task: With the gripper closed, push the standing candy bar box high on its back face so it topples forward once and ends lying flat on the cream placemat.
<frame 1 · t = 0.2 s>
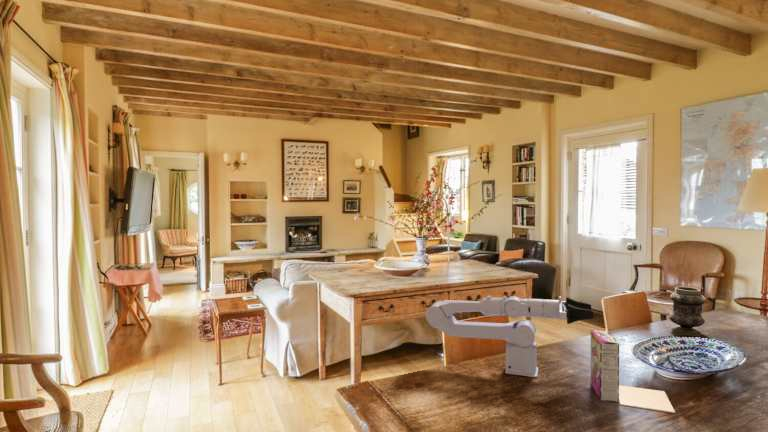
hand: (592, 311, 133), 21 cm above the table, tool horizontal, fingers open, 7 cm apart
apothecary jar: (686, 332, 180), on the table
placemat: (643, 398, 122), on the table
candy bar box: (603, 393, 126), on the table
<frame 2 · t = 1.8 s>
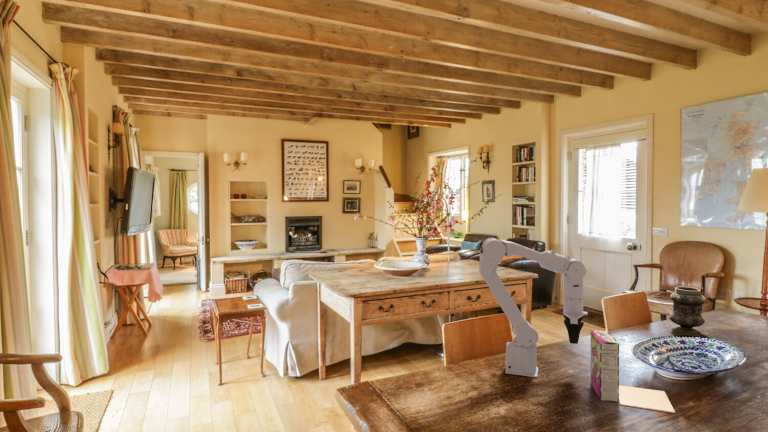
hand: (573, 340, 139), 10 cm above the table, tool pointing down, fingers open, 5 cm apart
nothing on the table moved.
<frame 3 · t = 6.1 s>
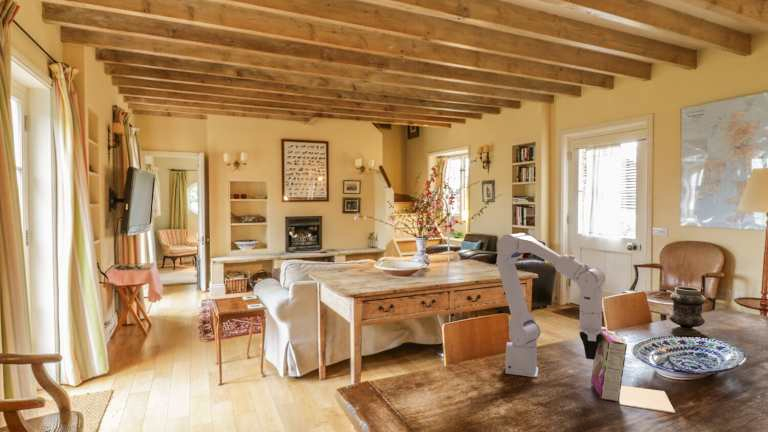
hand: (590, 358, 126), 9 cm above the table, tool pointing down, fingers closed
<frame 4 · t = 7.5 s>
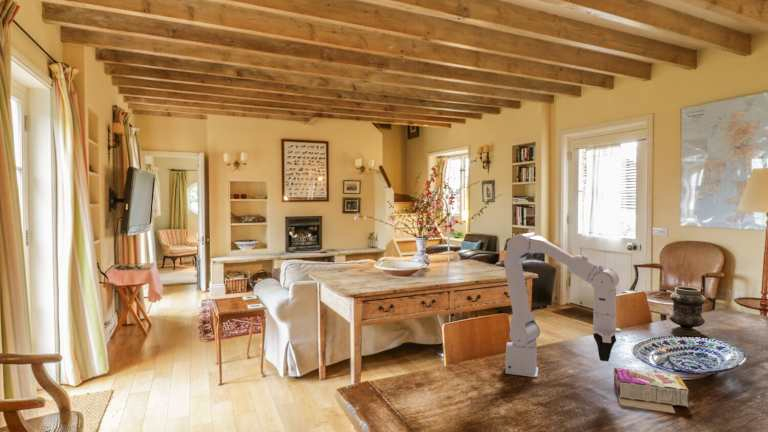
hand: (604, 360, 125), 9 cm above the table, tool pointing down, fingers closed
candy bar box: (615, 381, 126), point 3 cm above the table, touching placemat
everything else where it was.
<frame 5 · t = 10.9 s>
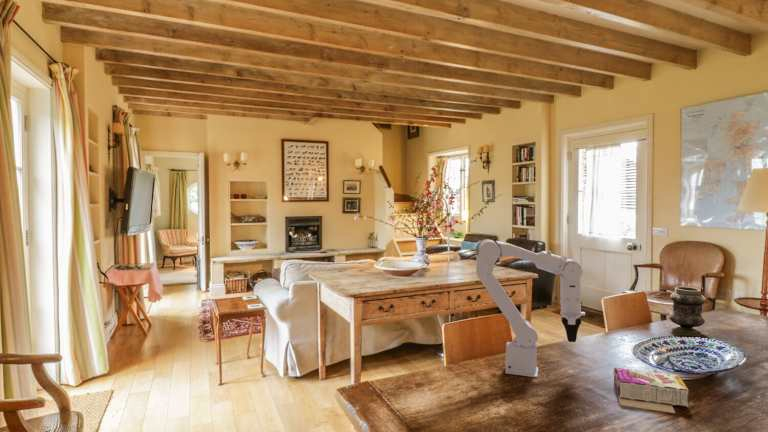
hand: (571, 341, 138), 10 cm above the table, tool pointing down, fingers closed
nothing on the table moved.
at the end: candy bar box tilted 91°; candy bar box touching placemat; candy bar box inside the target area (2.2 cm from its centre), point 2.9 cm above the table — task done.
